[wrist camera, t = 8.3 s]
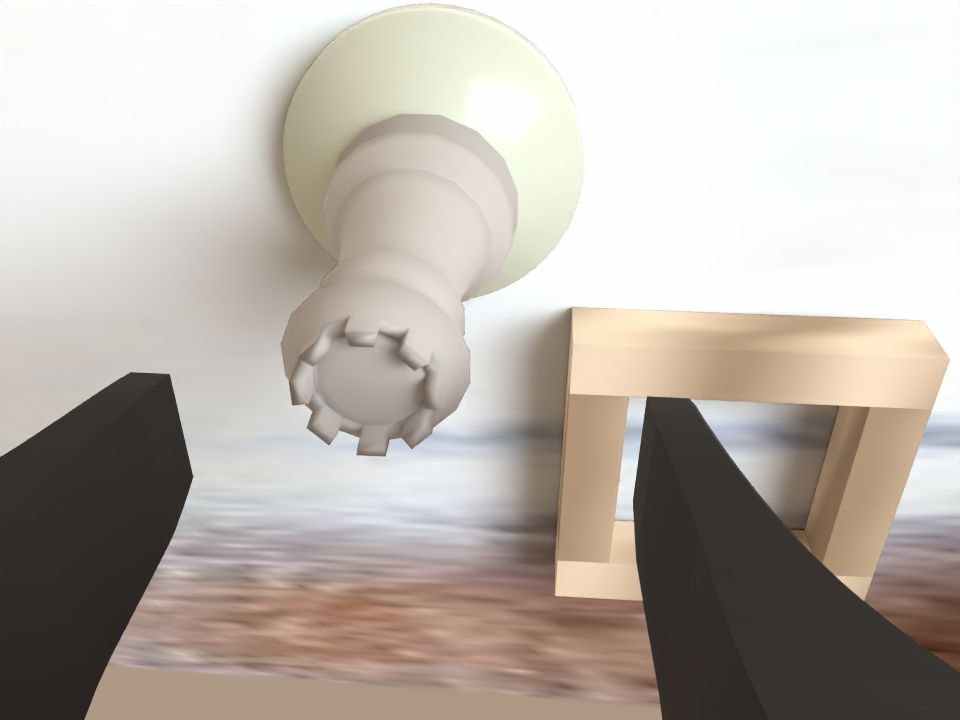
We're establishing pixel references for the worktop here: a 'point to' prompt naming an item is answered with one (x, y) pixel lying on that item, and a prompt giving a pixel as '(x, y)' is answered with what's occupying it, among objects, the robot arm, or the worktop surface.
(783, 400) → the pocket block
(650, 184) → the worktop surface
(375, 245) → the rook chess piece
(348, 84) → the coaster
